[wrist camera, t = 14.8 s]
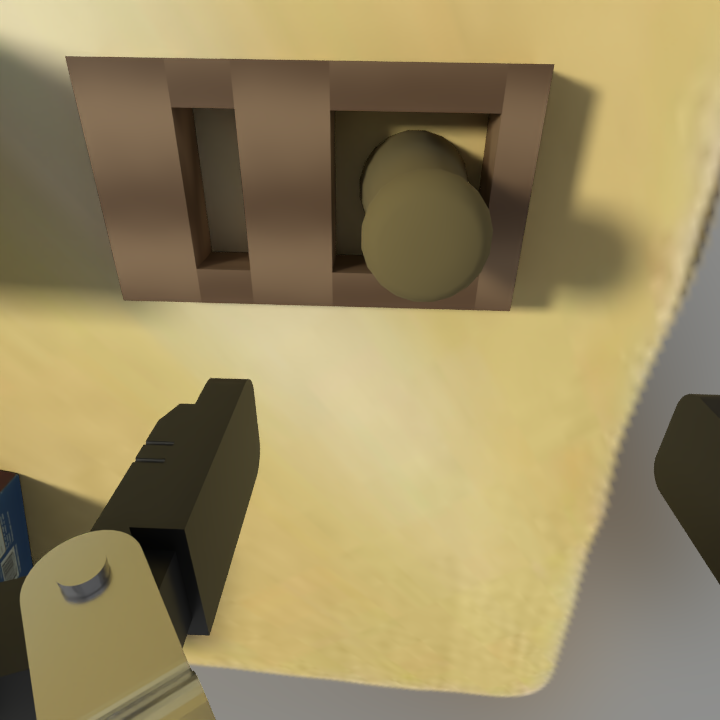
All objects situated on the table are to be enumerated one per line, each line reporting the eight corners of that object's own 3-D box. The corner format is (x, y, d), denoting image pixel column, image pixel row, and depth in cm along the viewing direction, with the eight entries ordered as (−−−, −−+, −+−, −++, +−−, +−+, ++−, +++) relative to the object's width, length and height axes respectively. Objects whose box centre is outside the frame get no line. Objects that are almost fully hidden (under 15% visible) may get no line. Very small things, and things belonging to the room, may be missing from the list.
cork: (336, 187, 28) (314, 249, 19) (418, 103, 26) (439, 124, 17) (409, 262, 30) (421, 352, 21) (490, 189, 28) (546, 253, 19)
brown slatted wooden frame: (97, 56, 26) (65, 56, 23) (536, 63, 25) (554, 64, 23) (144, 280, 32) (123, 300, 29) (499, 290, 31) (509, 310, 29)
